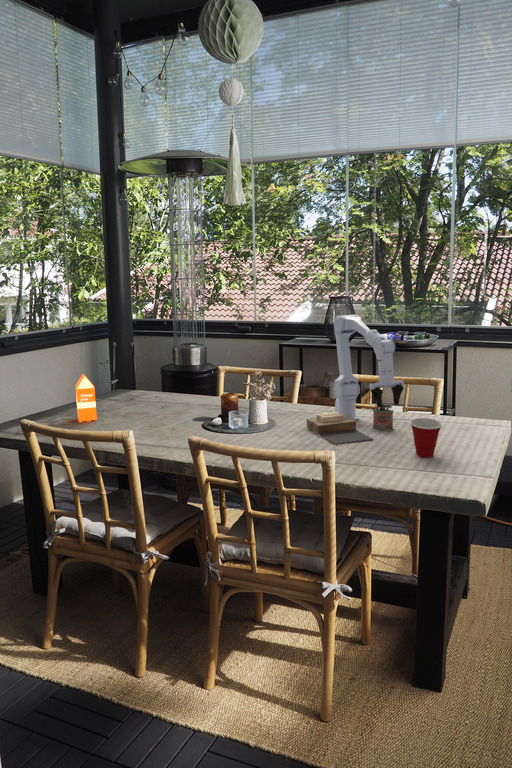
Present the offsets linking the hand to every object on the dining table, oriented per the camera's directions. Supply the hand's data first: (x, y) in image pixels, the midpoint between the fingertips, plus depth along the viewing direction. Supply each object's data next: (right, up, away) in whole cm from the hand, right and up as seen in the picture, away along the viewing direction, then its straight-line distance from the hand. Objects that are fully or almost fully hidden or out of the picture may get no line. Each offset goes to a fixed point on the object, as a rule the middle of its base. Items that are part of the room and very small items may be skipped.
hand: (388, 405), depth 259 cm
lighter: (0, -10, +9) cm, 13 cm away
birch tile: (-22, -6, +8) cm, 24 cm away
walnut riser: (-21, -10, +8) cm, 25 cm away
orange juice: (-126, -7, +35) cm, 131 cm away
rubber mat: (-17, -12, -4) cm, 21 cm away
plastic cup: (+7, -17, -28) cm, 33 cm away
